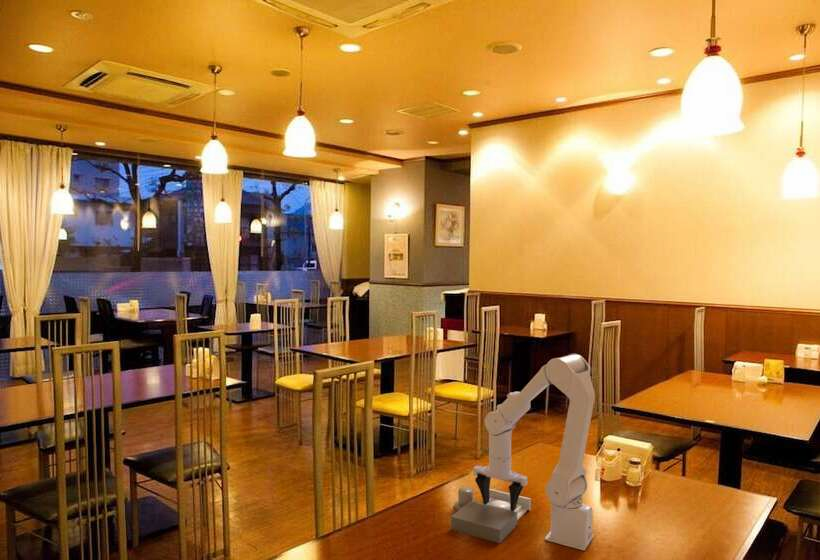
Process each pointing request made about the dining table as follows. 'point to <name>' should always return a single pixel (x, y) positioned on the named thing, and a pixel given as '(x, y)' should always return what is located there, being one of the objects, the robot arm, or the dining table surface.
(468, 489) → the grey cup
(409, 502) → the dining table surface
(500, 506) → the beige rounded shape
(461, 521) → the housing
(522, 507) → the tray
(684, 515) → the dining table surface
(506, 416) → the robot arm
